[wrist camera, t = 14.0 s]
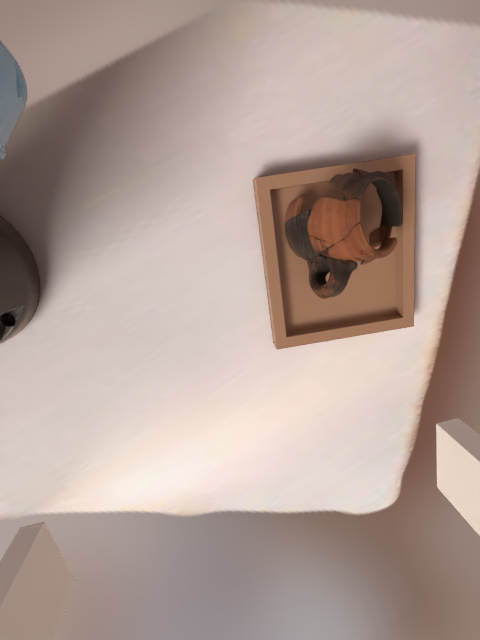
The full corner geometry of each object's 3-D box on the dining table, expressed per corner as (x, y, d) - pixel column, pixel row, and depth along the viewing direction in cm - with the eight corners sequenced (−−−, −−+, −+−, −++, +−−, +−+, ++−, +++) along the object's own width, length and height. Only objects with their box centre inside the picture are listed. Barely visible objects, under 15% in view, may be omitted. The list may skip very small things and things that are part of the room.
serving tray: (273, 343, 37) (276, 349, 36) (253, 180, 32) (255, 177, 30) (403, 321, 38) (413, 326, 36) (403, 157, 33) (415, 153, 31)
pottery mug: (285, 170, 32) (357, 140, 25) (346, 201, 38) (418, 184, 31) (266, 290, 32) (332, 293, 26) (329, 305, 38) (397, 310, 31)
